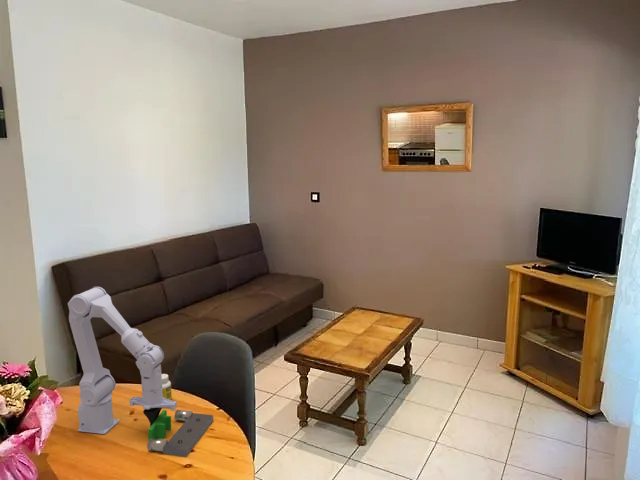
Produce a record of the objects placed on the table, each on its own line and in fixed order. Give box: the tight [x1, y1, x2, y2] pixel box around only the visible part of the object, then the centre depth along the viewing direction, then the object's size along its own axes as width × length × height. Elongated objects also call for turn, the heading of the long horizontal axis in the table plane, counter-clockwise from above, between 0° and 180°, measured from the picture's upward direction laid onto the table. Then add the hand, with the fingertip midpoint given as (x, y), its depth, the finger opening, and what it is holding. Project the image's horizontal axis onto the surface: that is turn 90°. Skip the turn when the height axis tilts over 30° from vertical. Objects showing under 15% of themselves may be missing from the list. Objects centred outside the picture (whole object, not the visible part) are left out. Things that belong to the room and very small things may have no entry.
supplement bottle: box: [161, 373, 173, 401], centre depth 168 cm, size 5×5×10 cm
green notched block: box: [147, 409, 172, 441], centre depth 150 cm, size 11×4×5 cm, turn 175°
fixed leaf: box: [146, 409, 214, 458], centre depth 149 cm, size 12×19×3 cm, turn 169°
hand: (154, 428), depth 151 cm, fingers closed, pressing on green notched block
